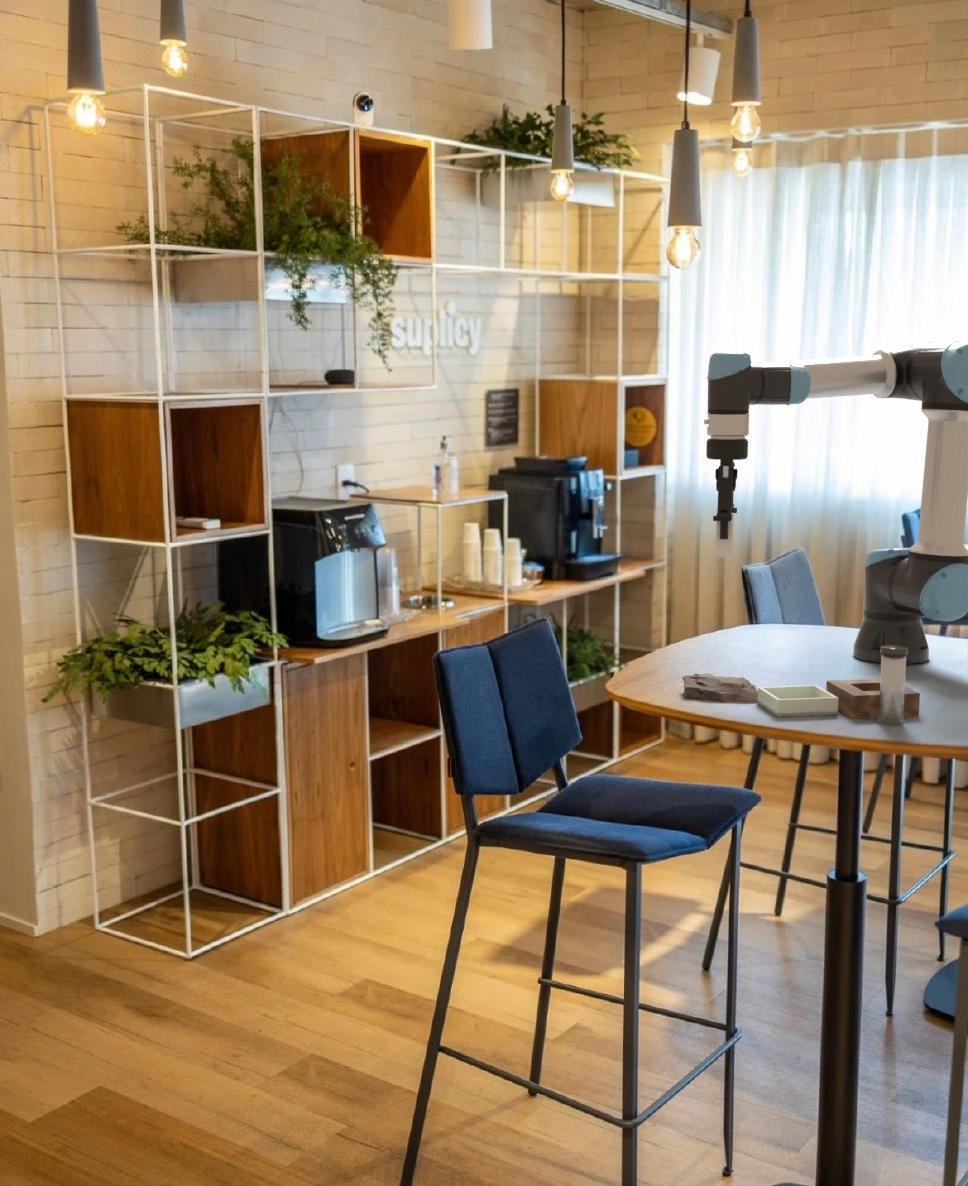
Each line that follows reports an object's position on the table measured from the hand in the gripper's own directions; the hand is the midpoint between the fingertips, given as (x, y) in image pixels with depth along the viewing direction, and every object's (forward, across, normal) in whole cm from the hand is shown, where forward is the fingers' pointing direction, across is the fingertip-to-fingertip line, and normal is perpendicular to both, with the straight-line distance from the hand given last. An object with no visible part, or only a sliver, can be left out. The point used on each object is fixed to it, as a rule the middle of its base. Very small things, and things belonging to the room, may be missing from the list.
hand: (724, 552), depth 256 cm
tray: (+26, +15, +14) cm, 33 cm away
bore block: (+26, +12, +27) cm, 39 cm away
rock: (+26, +7, 0) cm, 27 cm away
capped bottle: (+26, +22, +29) cm, 45 cm away
